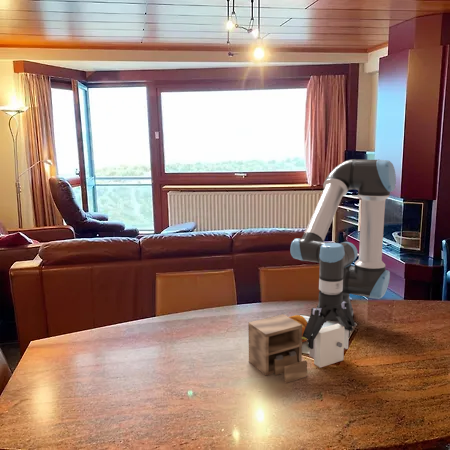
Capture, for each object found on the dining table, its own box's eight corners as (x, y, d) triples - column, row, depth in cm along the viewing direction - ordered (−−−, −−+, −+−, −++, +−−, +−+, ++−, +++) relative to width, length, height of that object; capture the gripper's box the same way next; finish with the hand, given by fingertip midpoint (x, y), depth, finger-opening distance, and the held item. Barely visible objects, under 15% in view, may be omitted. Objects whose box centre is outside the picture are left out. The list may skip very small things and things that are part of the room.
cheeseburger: (308, 331, 171) (310, 310, 166) (311, 350, 161) (312, 328, 157) (282, 330, 172) (283, 309, 167) (282, 349, 162) (283, 327, 158)
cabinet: (248, 361, 149) (248, 322, 147) (283, 351, 156) (283, 313, 153) (277, 385, 134) (278, 342, 132) (314, 373, 141) (315, 332, 138)
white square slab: (314, 363, 147) (314, 329, 145) (337, 356, 152) (338, 323, 149) (322, 369, 143) (323, 334, 141) (345, 361, 148) (347, 328, 146)
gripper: (307, 301, 134) (305, 366, 138) (367, 287, 146) (365, 347, 150) (292, 294, 141) (291, 356, 145) (351, 281, 152) (349, 339, 156)
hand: (328, 352), depth 147 cm, fingers open, 13 cm apart
